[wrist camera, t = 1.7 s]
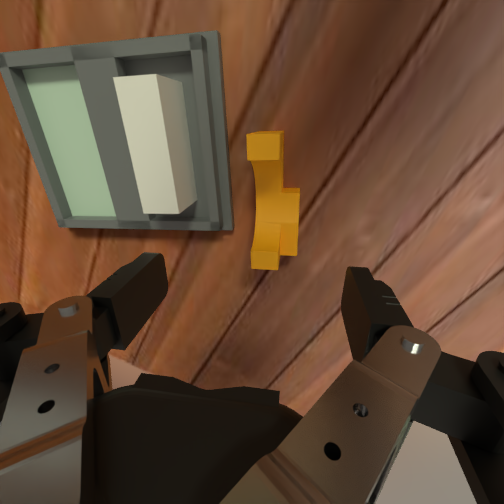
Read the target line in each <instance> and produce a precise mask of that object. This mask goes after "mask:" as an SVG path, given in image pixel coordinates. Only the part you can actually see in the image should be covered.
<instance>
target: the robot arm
mask: <svg viewBox="0 0 504 504" xmlns="http://www.w3.org/2000/svg"><path fill="white" fill-rule="evenodd" d="M167 291H168V280H167V274H166V267H165V261H164V257H163V255H162V254H161V253H147V252H144V253H142V254H141V255H140V256H139V257H138V258H136V259H135V260H134V261H133V262H131V263H129V264H127V265H125V266H123V267H121V268H119V269H118V270H117V271H116V272H115V273H113V275H111V276H110V277H108V278H107V280H105V281H103V282H102V283H101V284H100V285H99V286H97V287H96V288H95V289H94V290H92V291H91V292H90V293H89V294H87V295H86V296H72V297H68V298H65V299H62V300H59V301H57V302H55V303H54V304H52V305H51V306H49V307H48V308H47V309H46V310H45V312H44V313H37V314H28V315H25V313H24V310H23V308H22V306H21V304H19V303H15V302H9V303H2V304H0V422H1V421H2V422H1V426H0V504H375V503H376V501H377V499H378V496H379V494H380V492H381V490H382V488H383V485H384V483H385V481H386V478H387V476H388V474H389V472H390V470H391V467H392V465H393V463H394V461H395V459H396V457H397V455H398V453H399V450H400V449H401V446H402V444H403V442H404V440H405V438H406V436H407V434H408V432H409V430H410V427H411V425H412V423H413V421H416V422H419V423H421V424H424V425H426V426H429V427H431V428H433V429H436V430H438V431H440V432H443V433H445V434H447V435H448V437H449V440H450V442H451V444H452V446H453V449H454V451H455V454H456V456H457V458H458V460H459V463H460V465H461V467H462V470H463V472H464V474H465V477H466V479H467V481H468V484H469V486H470V488H471V491H472V493H473V495H474V498H475V500H476V502H477V504H504V353H501V352H496V351H486V352H482V353H480V354H479V356H478V358H477V360H476V362H473V361H470V360H467V359H463V358H460V357H457V356H453V355H450V354H447V353H445V352H442V351H441V348H440V346H439V344H438V343H437V341H436V340H435V339H434V338H432V337H431V336H430V335H428V334H427V333H425V332H423V331H421V330H419V329H417V328H414V326H413V325H412V323H411V321H410V320H409V318H408V316H407V315H406V313H405V311H404V309H403V308H402V306H401V305H400V303H399V301H398V299H397V298H396V296H395V294H394V292H393V291H392V289H391V288H390V287H389V286H388V285H386V284H385V283H384V282H382V281H380V280H374V278H373V276H372V275H371V273H370V271H369V269H368V268H365V267H350V266H349V267H348V268H347V271H346V276H345V282H344V288H343V293H342V300H341V312H342V316H343V320H344V325H345V329H346V333H347V337H348V341H349V345H350V349H351V353H352V357H353V361H352V362H351V363H350V364H349V365H348V366H347V367H346V368H345V369H344V371H343V372H342V373H341V374H340V375H339V376H338V377H337V379H336V380H335V381H334V382H333V383H332V384H331V386H330V387H329V388H328V389H327V390H326V391H325V393H324V394H323V395H322V396H321V397H320V398H319V400H318V401H317V402H316V403H315V404H314V405H313V407H312V408H311V409H310V410H309V411H308V412H307V414H306V415H305V416H304V417H302V416H301V415H300V414H298V413H297V412H295V411H294V410H292V409H290V408H288V407H287V406H284V405H282V404H280V403H279V393H280V391H275V390H267V389H260V388H252V387H244V386H243V387H233V388H223V389H214V390H203V389H201V388H198V387H196V386H193V385H191V384H189V383H186V382H184V381H181V380H179V379H176V378H174V377H168V376H160V375H152V374H145V373H141V375H140V376H139V378H138V379H137V381H136V382H135V384H134V385H129V386H124V387H120V388H117V389H114V390H112V379H111V368H110V359H109V355H108V352H109V351H110V350H111V349H119V350H125V349H126V348H127V347H128V345H129V344H130V343H131V341H132V340H133V339H134V338H135V336H136V335H137V334H138V332H139V331H140V330H141V328H142V327H143V326H144V324H145V323H146V322H147V320H148V319H149V318H150V316H151V315H152V314H153V313H154V311H155V310H156V309H157V307H158V306H159V305H160V303H161V302H162V301H163V299H164V298H165V297H166V294H167Z"/></svg>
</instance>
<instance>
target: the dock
mask: <svg viewBox="0 0 504 504" xmlns="http://www.w3.org/2000/svg"><path fill="white" fill-rule="evenodd" d="M0 71H1V74H2V77H3V79H4V82H5V85H6V87H7V90H8V93H9V95H10V98H11V101H12V103H13V106H14V108H15V111H16V114H17V116H18V119H19V122H20V124H21V127H22V130H23V132H24V135H25V138H26V140H27V143H28V146H29V148H30V151H31V154H32V156H33V159H34V162H35V164H36V167H37V170H38V172H39V175H40V178H41V180H42V183H43V186H44V188H45V191H46V194H47V196H48V199H49V201H50V204H51V207H52V209H53V212H54V215H55V217H56V220H57V223H58V225H59V227H67V228H113V229H159V230H204V231H220V230H233V229H234V216H233V202H232V188H231V175H230V161H229V148H228V134H227V120H226V107H225V93H224V79H223V66H222V52H221V38H220V33H219V32H218V31H217V30H216V31H206V32H197V33H187V34H177V35H168V36H158V37H148V38H139V39H129V40H119V41H110V42H100V43H90V44H80V45H71V46H61V47H51V48H42V49H32V50H22V51H13V52H3V53H0Z"/></svg>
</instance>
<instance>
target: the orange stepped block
mask: <svg viewBox="0 0 504 504" xmlns="http://www.w3.org/2000/svg"><path fill="white" fill-rule="evenodd" d="M246 135H247V160H250V162H251V163H252V166H253V170H254V176H255V186H256V222H255V233H254V240H253V245H252V248H251V269H265V270H278V267H279V260H280V255H288V256H297V244H298V223H299V200H300V188H283V170H284V131H258V132H254V133H250V134H246Z"/></svg>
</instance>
